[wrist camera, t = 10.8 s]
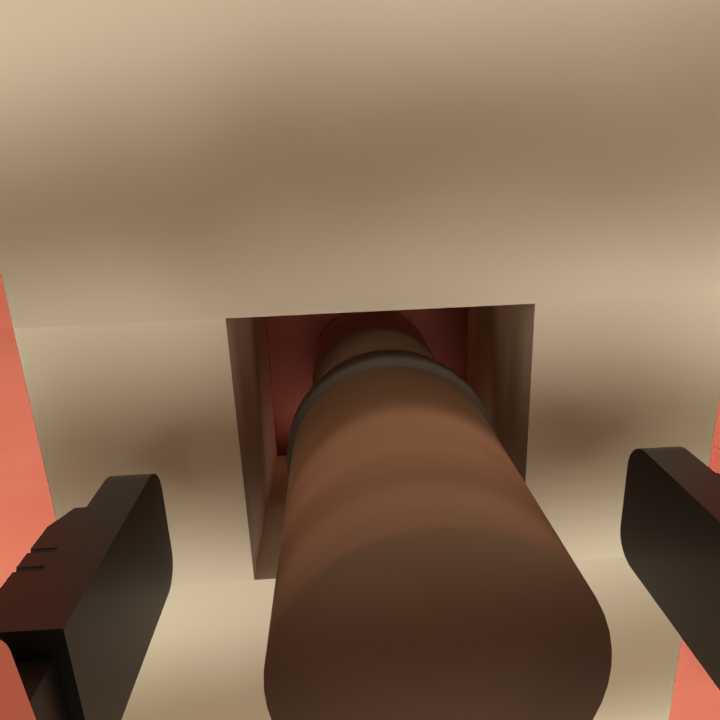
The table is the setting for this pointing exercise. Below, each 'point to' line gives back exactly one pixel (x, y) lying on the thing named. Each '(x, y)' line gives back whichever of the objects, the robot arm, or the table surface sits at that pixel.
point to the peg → (419, 554)
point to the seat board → (359, 266)
